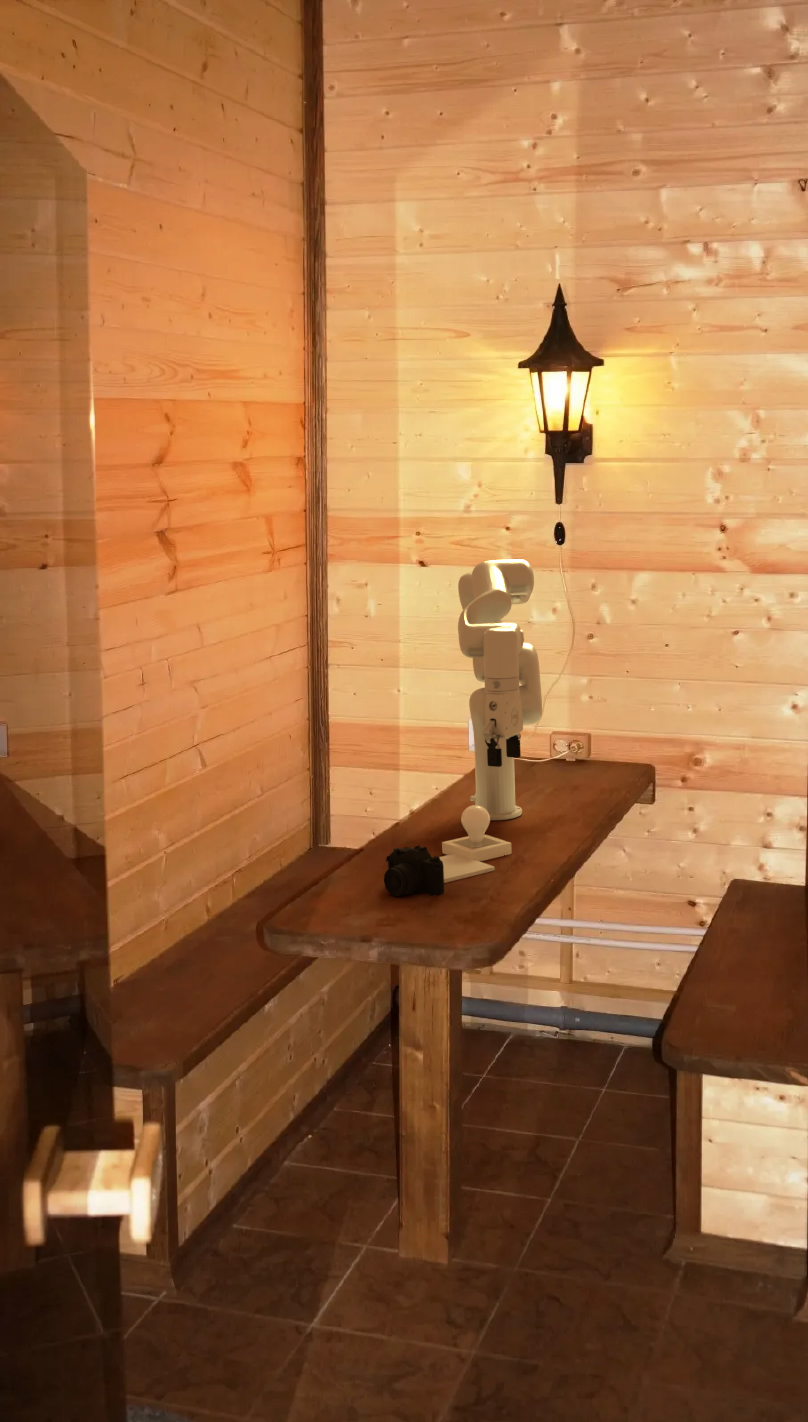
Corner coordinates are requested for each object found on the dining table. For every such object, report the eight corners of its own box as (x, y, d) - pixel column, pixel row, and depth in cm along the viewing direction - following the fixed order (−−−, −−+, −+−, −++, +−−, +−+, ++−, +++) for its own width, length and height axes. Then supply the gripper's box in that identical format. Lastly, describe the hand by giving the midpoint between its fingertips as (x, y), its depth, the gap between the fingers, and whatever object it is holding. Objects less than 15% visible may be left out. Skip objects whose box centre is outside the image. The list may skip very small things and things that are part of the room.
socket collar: (442, 852, 328) (441, 842, 327) (481, 843, 334) (481, 833, 333) (471, 863, 319) (471, 852, 318) (511, 853, 325) (511, 842, 324)
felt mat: (403, 869, 317) (403, 865, 317) (456, 856, 324) (455, 853, 324) (441, 883, 305) (441, 879, 305) (494, 870, 313) (494, 866, 313)
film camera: (366, 890, 303) (364, 848, 302) (400, 879, 310) (398, 838, 308) (418, 904, 292) (416, 861, 291) (451, 893, 299) (450, 850, 297)
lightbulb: (494, 850, 328) (492, 802, 326) (486, 858, 322) (485, 809, 320) (467, 848, 330) (465, 801, 328) (459, 856, 324) (457, 808, 322)
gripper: (500, 691, 309) (503, 771, 312) (533, 679, 324) (535, 754, 327) (468, 690, 313) (471, 768, 316) (503, 677, 328) (505, 752, 331)
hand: (504, 761), depth 321 cm, fingers open, 9 cm apart
